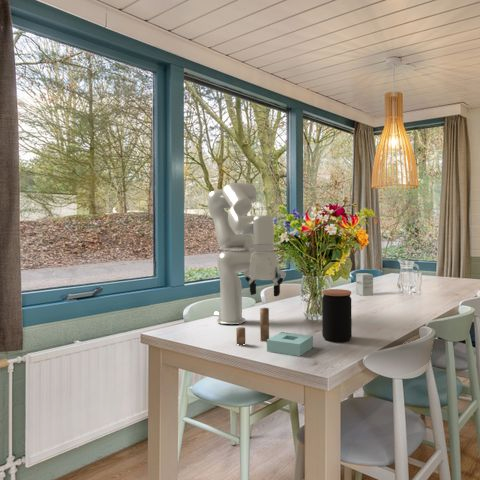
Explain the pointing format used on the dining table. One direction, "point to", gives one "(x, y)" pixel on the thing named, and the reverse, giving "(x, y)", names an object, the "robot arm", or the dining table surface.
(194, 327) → the dining table surface
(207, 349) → the dining table surface
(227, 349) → the dining table surface
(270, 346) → the hole block
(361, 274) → the supplement box
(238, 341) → the short dowel
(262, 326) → the long dowel
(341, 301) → the coffee jar
